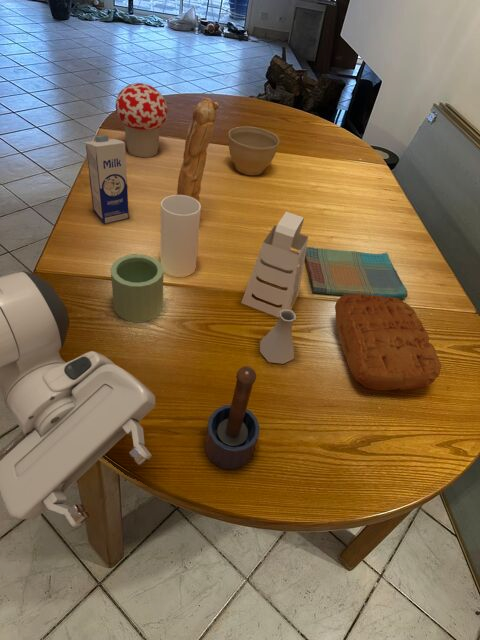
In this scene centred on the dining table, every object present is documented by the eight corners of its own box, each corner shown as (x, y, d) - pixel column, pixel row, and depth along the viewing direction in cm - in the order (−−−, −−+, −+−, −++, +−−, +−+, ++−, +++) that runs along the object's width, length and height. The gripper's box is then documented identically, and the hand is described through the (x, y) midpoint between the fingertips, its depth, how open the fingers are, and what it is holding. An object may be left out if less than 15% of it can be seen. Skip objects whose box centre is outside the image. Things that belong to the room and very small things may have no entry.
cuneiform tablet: (325, 314, 93) (336, 286, 88) (397, 319, 96) (412, 292, 90) (349, 397, 78) (364, 370, 72) (434, 400, 80) (455, 374, 74)
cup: (202, 263, 100) (207, 203, 89) (184, 281, 94) (188, 219, 83) (172, 251, 102) (174, 190, 91) (153, 268, 96) (153, 206, 85)
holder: (222, 478, 63) (227, 460, 59) (195, 438, 67) (198, 418, 63) (262, 453, 67) (269, 434, 63) (234, 417, 71) (239, 396, 67)
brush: (225, 464, 64) (243, 391, 51) (208, 439, 67) (221, 364, 54) (250, 448, 67) (273, 375, 53) (233, 426, 69) (251, 350, 56)
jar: (127, 328, 82) (124, 292, 75) (106, 298, 87) (101, 261, 80) (171, 312, 87) (172, 277, 80) (148, 284, 92) (148, 249, 85)
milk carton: (103, 224, 105) (95, 145, 92) (92, 211, 109) (83, 133, 95) (129, 218, 109) (125, 141, 95) (118, 206, 113) (113, 130, 99)
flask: (265, 367, 80) (275, 331, 73) (254, 339, 85) (263, 303, 78) (299, 362, 82) (313, 327, 75) (287, 335, 87) (298, 300, 80)
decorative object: (118, 139, 142) (114, 73, 128) (165, 142, 145) (166, 78, 131) (117, 160, 131) (113, 90, 117) (168, 163, 134) (169, 96, 121)
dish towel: (406, 302, 100) (411, 294, 99) (312, 295, 97) (315, 286, 96) (385, 259, 113) (389, 251, 111) (301, 251, 110) (303, 243, 108)
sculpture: (211, 221, 114) (224, 103, 93) (183, 230, 109) (189, 108, 88) (197, 209, 117) (206, 93, 96) (169, 217, 112) (172, 97, 91)
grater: (299, 292, 97) (323, 217, 83) (285, 320, 90) (309, 242, 76) (257, 277, 99) (274, 201, 85) (241, 303, 92) (256, 224, 78)
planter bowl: (226, 155, 145) (230, 123, 137) (272, 162, 146) (278, 130, 138) (223, 176, 133) (227, 142, 126) (273, 184, 134) (280, 150, 127)
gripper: (-34, 462, 48) (22, 565, 43) (103, 341, 52) (171, 422, 46) (3, 466, 54) (57, 557, 49) (124, 357, 57) (187, 431, 52)
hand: (114, 490), depth 47 cm, fingers open, 8 cm apart
